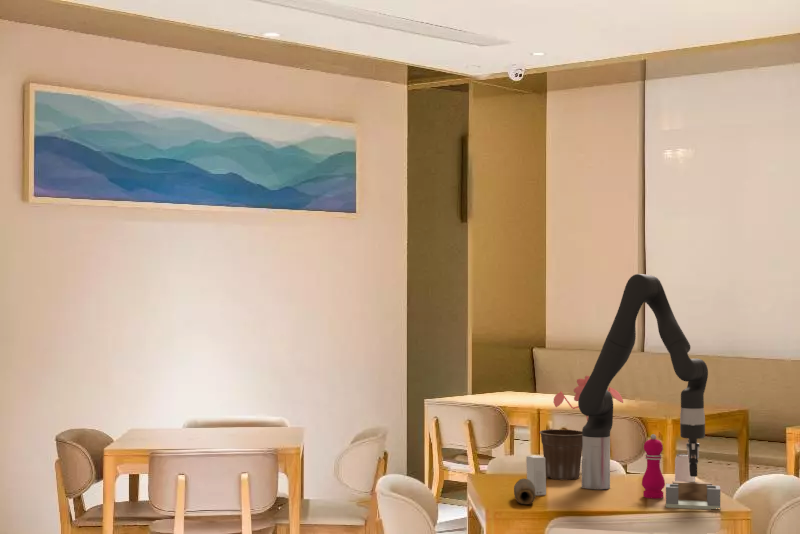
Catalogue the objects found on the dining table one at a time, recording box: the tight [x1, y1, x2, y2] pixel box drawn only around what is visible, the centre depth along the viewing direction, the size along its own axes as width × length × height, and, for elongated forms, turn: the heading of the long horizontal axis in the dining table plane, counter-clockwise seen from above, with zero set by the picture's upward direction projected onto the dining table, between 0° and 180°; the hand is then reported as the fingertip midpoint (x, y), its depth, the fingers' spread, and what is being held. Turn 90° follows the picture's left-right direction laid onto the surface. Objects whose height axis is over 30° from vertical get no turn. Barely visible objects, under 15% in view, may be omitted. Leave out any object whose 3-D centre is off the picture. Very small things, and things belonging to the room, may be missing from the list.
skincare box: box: [525, 454, 547, 496], centre depth 379 cm, size 6×4×12 cm
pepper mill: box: [641, 433, 666, 500], centre depth 375 cm, size 7×7×20 cm
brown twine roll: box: [513, 478, 537, 505], centre depth 364 cm, size 15×7×7 cm, turn 0°
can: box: [674, 453, 696, 482], centre depth 386 cm, size 6×6×12 cm
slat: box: [672, 480, 713, 501], centre depth 367 cm, size 12×3×6 cm, turn 77°
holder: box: [665, 483, 721, 510], centre depth 359 cm, size 16×9×6 cm, turn 77°
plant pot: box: [539, 429, 583, 481], centre depth 415 cm, size 16×16×16 cm
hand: (693, 474), depth 367 cm, fingers open, 8 cm apart
